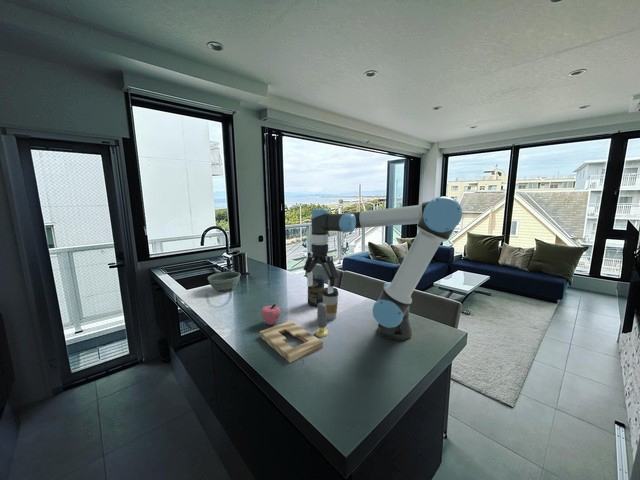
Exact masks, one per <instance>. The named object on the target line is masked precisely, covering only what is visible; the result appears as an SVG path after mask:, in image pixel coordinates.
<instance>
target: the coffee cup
mask: <svg viewBox="0 0 640 480" xmlns="http://www.w3.org/2000/svg"><path fill="white" fill-rule="evenodd" d="M322 294H323V303H326V321H328V320H329V321H333V320H335V319H337V312H338V301H339V300H338V299H339V291H338V288H337V287H333V293H330V294H328V286H327V287H324V289H323V293H322Z"/></svg>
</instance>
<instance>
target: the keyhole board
mask: <svg viewBox="0 0 640 480" xmlns="http://www.w3.org/2000/svg"><path fill="white" fill-rule="evenodd" d="M286 333H289V334H290V335H291V336H292V337H296V338H297V339H299V340H300V341H302V342H303V343H301V344H298V345H297V346H294V347H292V346H291V345H290V344H288V343H287V342H286V341H287V337H286V336H284V334H286ZM259 337H260V338H261V339H262V340H263V341H264V342H265V343H267V344H268V346H270V347H271V348H272V349H273V350H274V351H276V352H277V353H278V354H280V356H281V357H283V358H284V359H285V360H286V361H287V362H288V363H292V362H295V361H296V360H299V359H301V358H303V357H305V356H306V357H307V356H308V355H310V354H312V353H315V352H316V351H319V350H322V349H323V348H324V344H323V343H324V341H323V340H321V339H319V338H317V336H316V335H313V334H311V333H310V332H308V331H307V330H305V329H304V328H303V327H301V326H299V325H298V324H296V323H295V322H293V321H291V320H290V321H286V322H284V323H281V324H277V325H274V326H272V327H269V328H268V327H267V328H266V329H263V330H260V331H259Z"/></svg>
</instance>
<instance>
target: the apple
mask: <svg viewBox="0 0 640 480" xmlns="http://www.w3.org/2000/svg"><path fill="white" fill-rule="evenodd" d="M260 314H261V317H262V319H263V320H264V321H265V323H266V325H268V326H271V325H275V324H276V323H277V321H278V319H279V318H280V317H281V308H280V307H279V306H277V305H276V304H275V303H274V304H273V305H266V306H265V305H263V307H262V308H261V310H260Z"/></svg>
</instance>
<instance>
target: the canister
mask: <svg viewBox="0 0 640 480" xmlns="http://www.w3.org/2000/svg"><path fill="white" fill-rule="evenodd" d="M324 288H325V276H324V275H322V274H317V273H316V274H313V285H312V286H309V287H308V286H307V304H308V305H309V306H311V307H317V304H318V303H323V294H322V293H323V289H324Z"/></svg>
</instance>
